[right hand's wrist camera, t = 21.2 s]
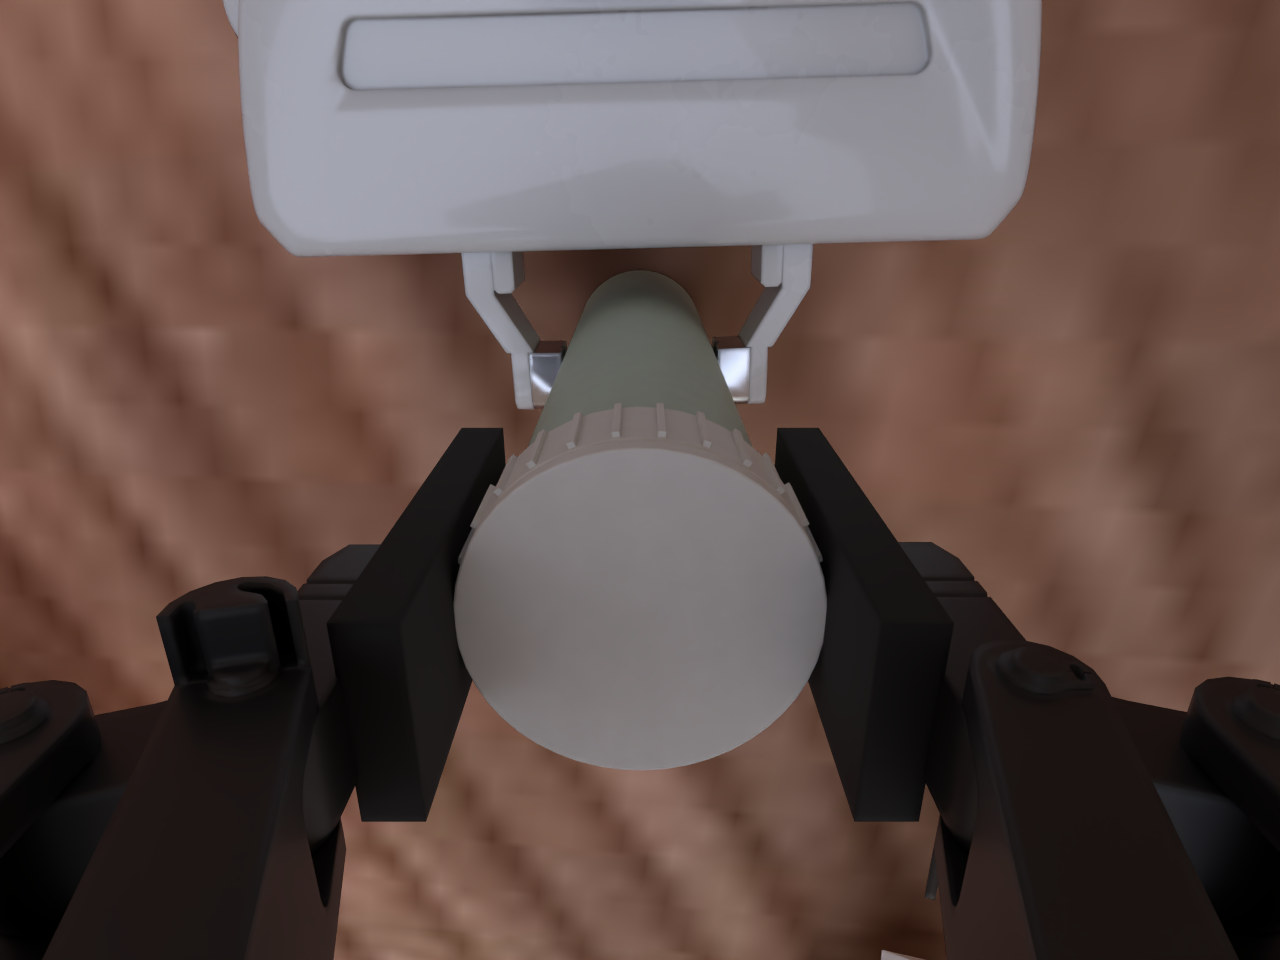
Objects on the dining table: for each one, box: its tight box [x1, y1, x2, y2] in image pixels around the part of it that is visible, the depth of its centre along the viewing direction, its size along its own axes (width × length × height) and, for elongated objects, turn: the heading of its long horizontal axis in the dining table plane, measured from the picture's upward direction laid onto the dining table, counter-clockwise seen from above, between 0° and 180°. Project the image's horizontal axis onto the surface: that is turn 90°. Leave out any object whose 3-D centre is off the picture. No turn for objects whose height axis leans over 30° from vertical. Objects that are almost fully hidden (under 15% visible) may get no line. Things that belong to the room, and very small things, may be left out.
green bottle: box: [527, 270, 752, 448], centre depth 20 cm, size 5×5×19 cm
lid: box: [453, 403, 827, 770], centre depth 11 cm, size 5×5×2 cm
